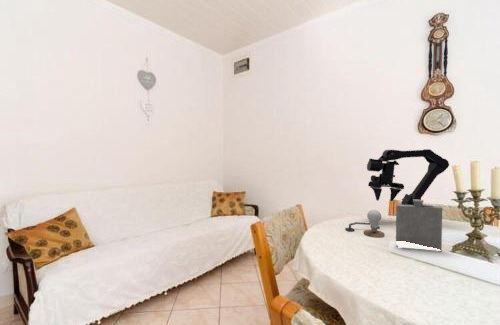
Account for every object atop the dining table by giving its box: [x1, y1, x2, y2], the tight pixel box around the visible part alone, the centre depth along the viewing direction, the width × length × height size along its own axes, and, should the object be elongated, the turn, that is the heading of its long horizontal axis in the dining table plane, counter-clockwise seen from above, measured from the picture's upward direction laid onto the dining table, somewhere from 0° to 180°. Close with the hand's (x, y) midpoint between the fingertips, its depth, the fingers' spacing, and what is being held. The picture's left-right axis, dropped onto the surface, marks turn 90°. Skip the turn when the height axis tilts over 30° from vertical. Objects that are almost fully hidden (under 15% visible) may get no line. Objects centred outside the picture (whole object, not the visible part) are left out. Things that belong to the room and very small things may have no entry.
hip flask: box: [395, 199, 443, 251], centre depth 102 cm, size 16×4×20 cm, turn 72°
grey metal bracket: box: [344, 221, 381, 233], centre depth 127 cm, size 18×4×3 cm, turn 104°
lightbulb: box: [366, 209, 382, 233], centre depth 119 cm, size 6×6×11 cm
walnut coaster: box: [363, 229, 385, 238], centre depth 119 cm, size 9×9×1 cm
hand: (384, 200), depth 136 cm, fingers open, 9 cm apart
